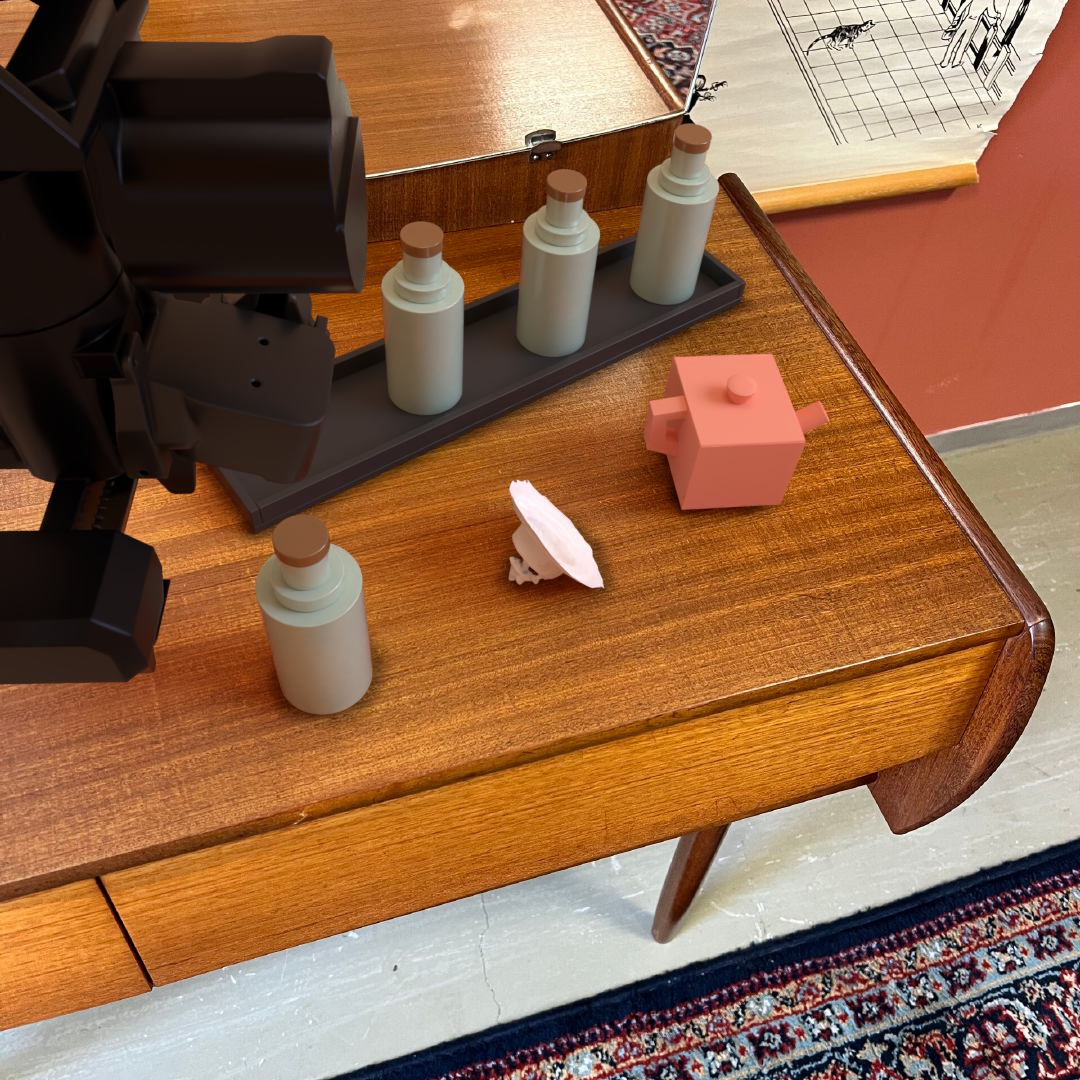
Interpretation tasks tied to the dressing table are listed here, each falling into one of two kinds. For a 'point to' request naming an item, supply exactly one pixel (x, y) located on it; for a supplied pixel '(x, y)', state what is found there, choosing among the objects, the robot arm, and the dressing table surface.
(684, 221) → the bottle far
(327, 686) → the bottle
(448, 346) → the bottle near
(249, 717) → the dressing table surface
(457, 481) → the dressing table surface
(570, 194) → the bottle middle
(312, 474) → the tray
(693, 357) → the pink cube teapot
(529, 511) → the pale pink ornate lid
